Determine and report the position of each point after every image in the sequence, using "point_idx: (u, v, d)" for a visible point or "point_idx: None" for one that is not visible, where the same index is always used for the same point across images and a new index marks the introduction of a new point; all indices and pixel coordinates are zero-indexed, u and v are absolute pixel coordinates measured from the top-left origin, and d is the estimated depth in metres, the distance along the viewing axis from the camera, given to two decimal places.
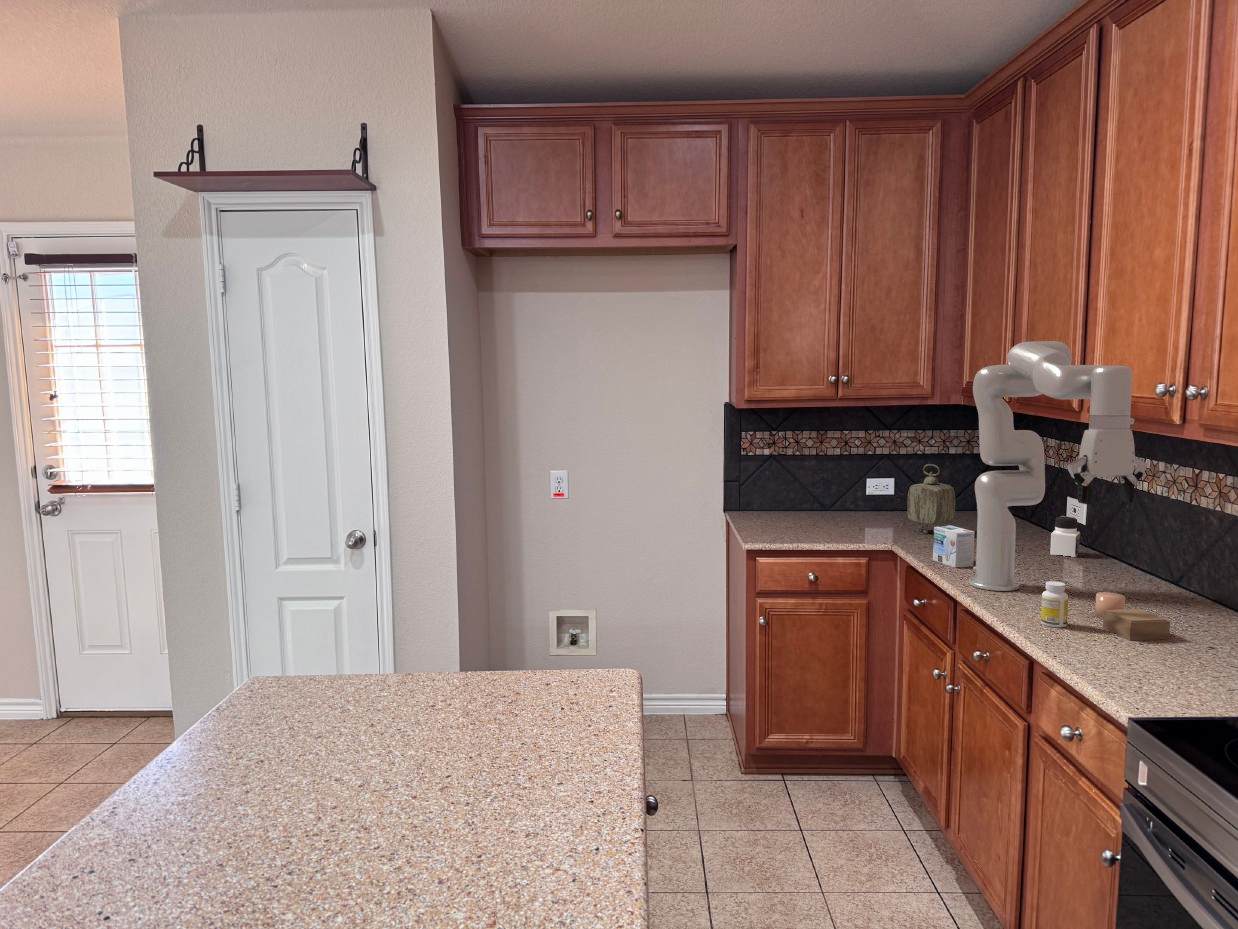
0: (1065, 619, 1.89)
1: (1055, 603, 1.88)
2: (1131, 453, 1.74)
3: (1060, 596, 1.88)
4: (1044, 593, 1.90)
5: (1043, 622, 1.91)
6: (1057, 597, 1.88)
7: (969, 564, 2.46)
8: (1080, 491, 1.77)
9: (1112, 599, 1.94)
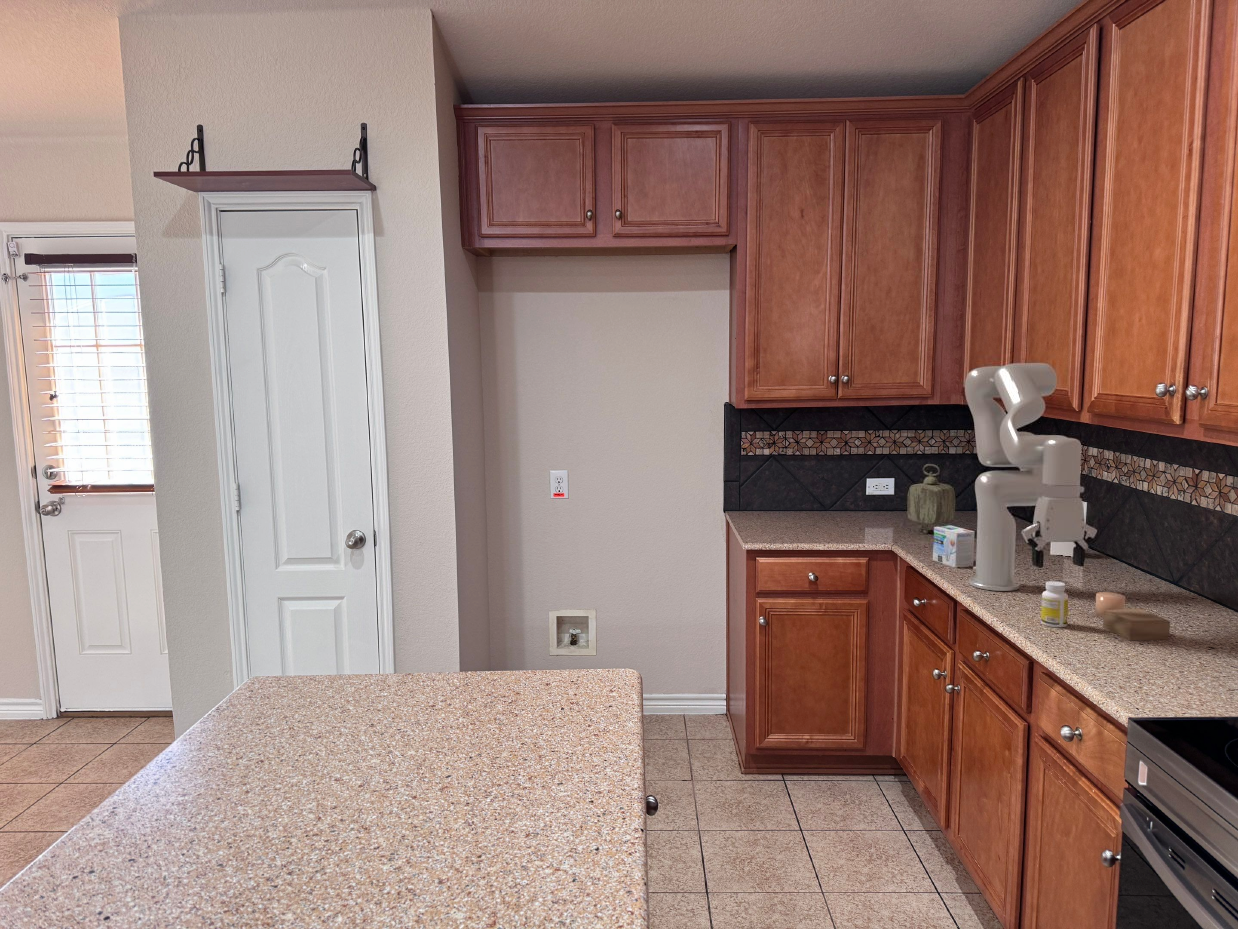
0: (1065, 619, 1.89)
1: (1055, 603, 1.88)
2: (1081, 520, 1.86)
3: (1060, 596, 1.88)
4: (1044, 593, 1.90)
5: (1043, 622, 1.91)
6: (1057, 597, 1.88)
7: (969, 564, 2.46)
8: (1034, 555, 1.88)
9: (1112, 599, 1.94)
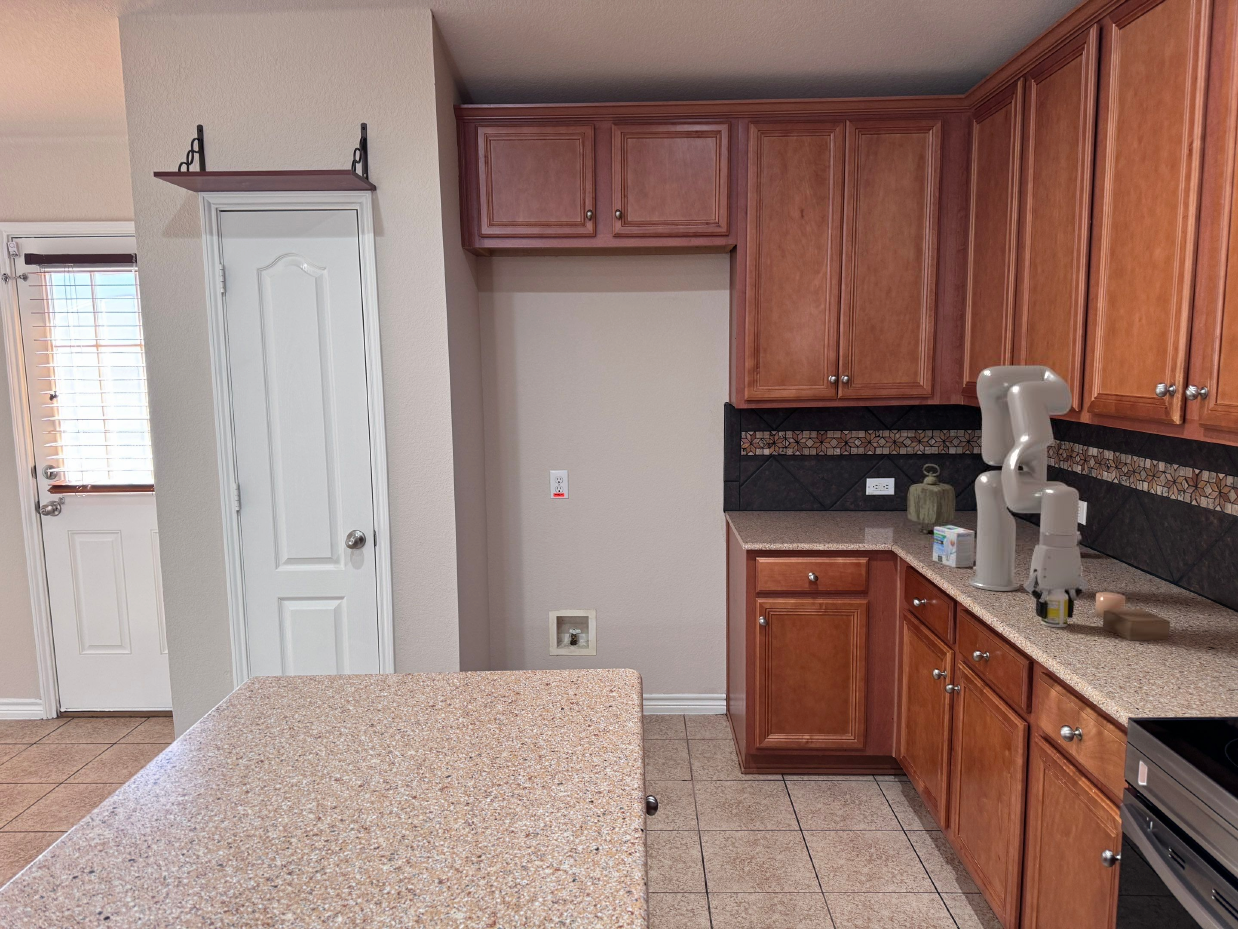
0: (1065, 619, 1.89)
1: (1055, 603, 1.88)
2: (1078, 568, 1.88)
3: (1061, 596, 1.88)
4: None
5: (1043, 622, 1.91)
6: (1057, 597, 1.88)
7: (969, 564, 2.46)
8: (1038, 606, 1.90)
9: (1112, 599, 1.94)
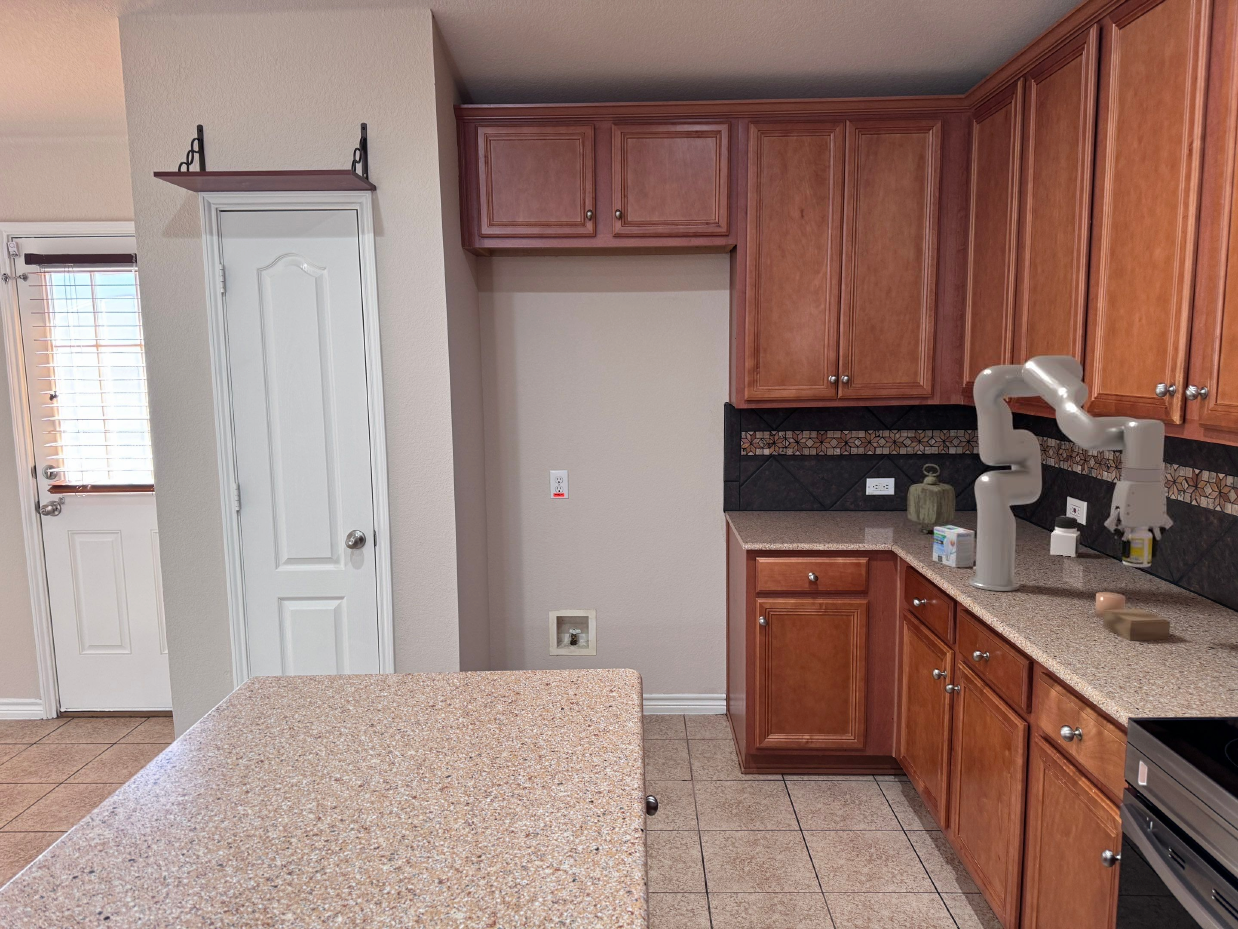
0: (1149, 558, 1.80)
1: (1139, 541, 1.79)
2: (1163, 505, 1.79)
3: (1145, 534, 1.79)
4: None
5: (1125, 562, 1.82)
6: (1141, 535, 1.79)
7: (969, 564, 2.46)
8: (1120, 545, 1.82)
9: (1112, 599, 1.94)
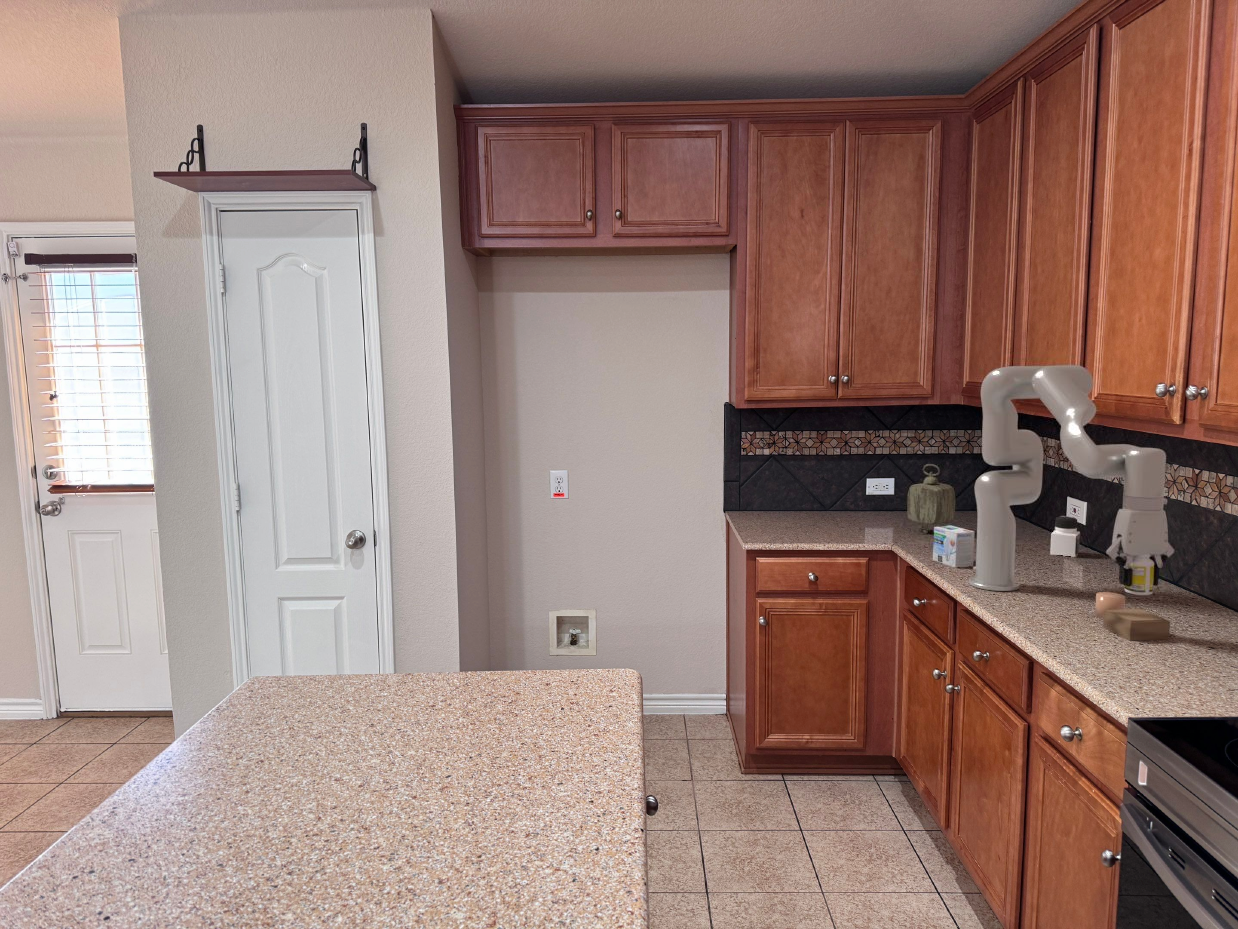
0: (1151, 586, 1.80)
1: (1141, 569, 1.80)
2: (1164, 533, 1.79)
3: (1147, 562, 1.80)
4: None
5: (1127, 590, 1.82)
6: (1143, 563, 1.80)
7: (969, 564, 2.46)
8: (1122, 573, 1.82)
9: (1112, 599, 1.94)
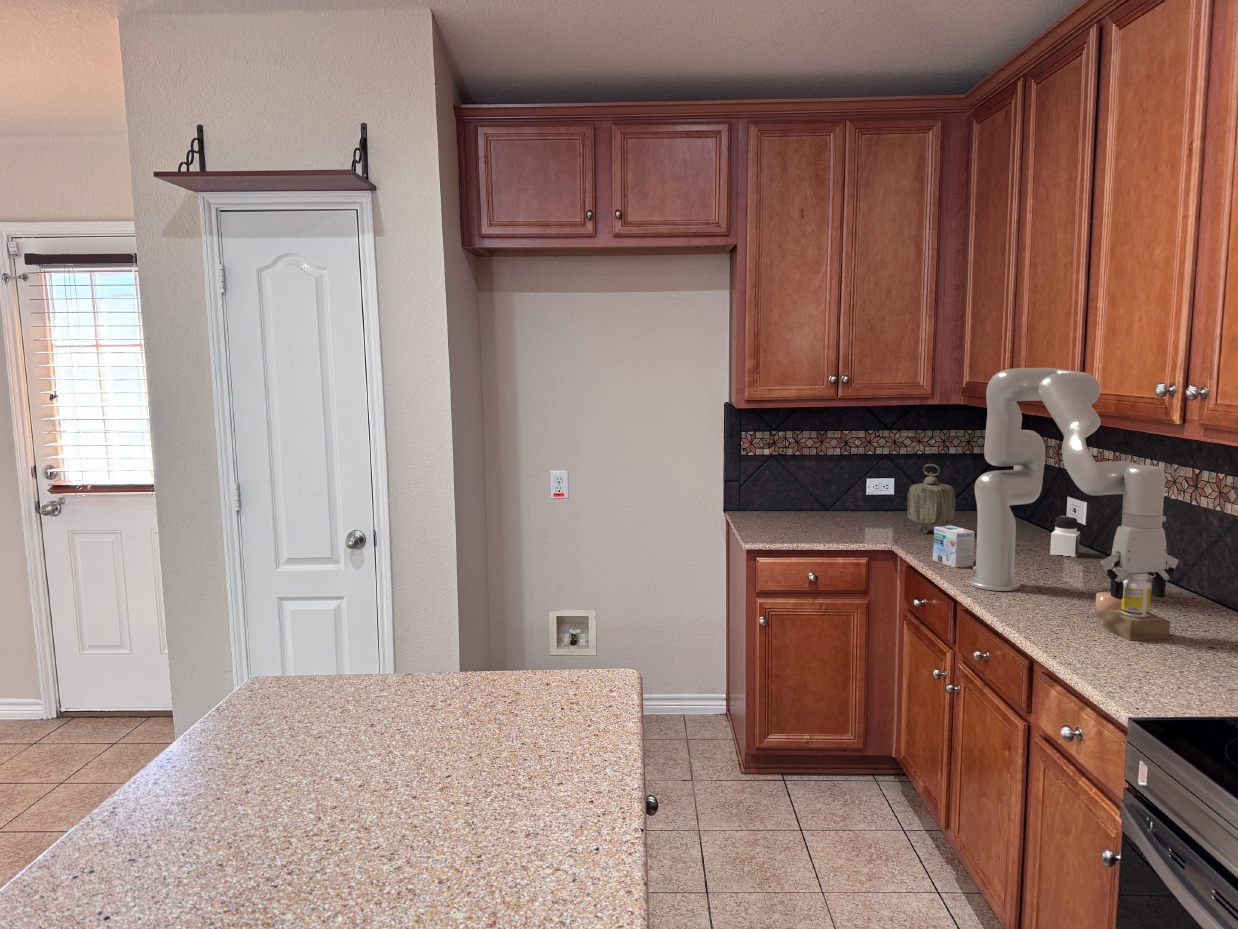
0: (1148, 609, 1.81)
1: (1138, 592, 1.81)
2: (1163, 551, 1.80)
3: (1144, 585, 1.80)
4: (1125, 582, 1.83)
5: (1124, 612, 1.83)
6: (1140, 586, 1.80)
7: (969, 564, 2.46)
8: (1113, 586, 1.82)
9: (1112, 599, 1.94)
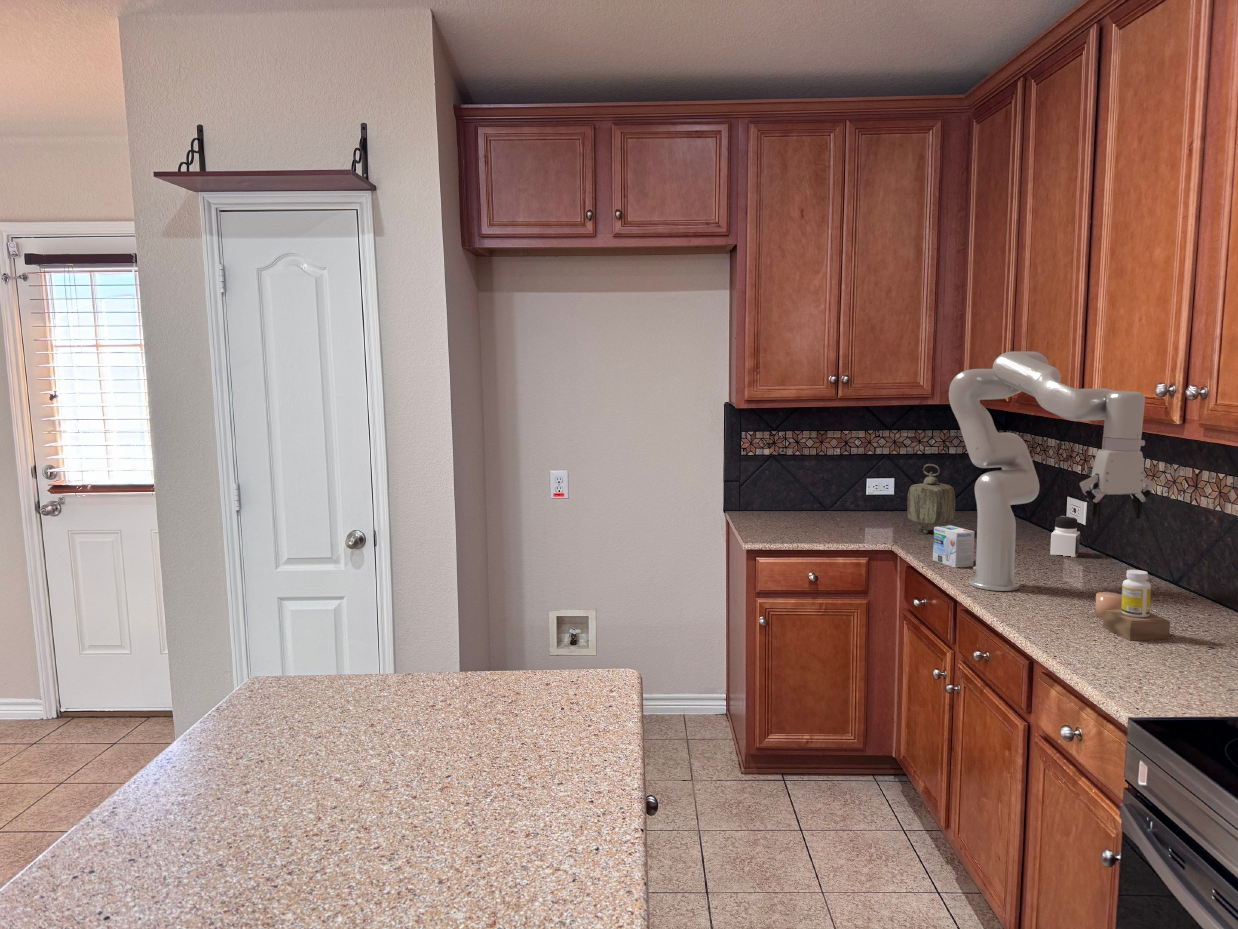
0: (1148, 609, 1.81)
1: (1138, 592, 1.81)
2: (1140, 473, 1.88)
3: (1143, 585, 1.80)
4: (1125, 582, 1.83)
5: (1124, 612, 1.83)
6: (1140, 586, 1.80)
7: (969, 564, 2.46)
8: (1091, 507, 1.90)
9: (1112, 599, 1.94)
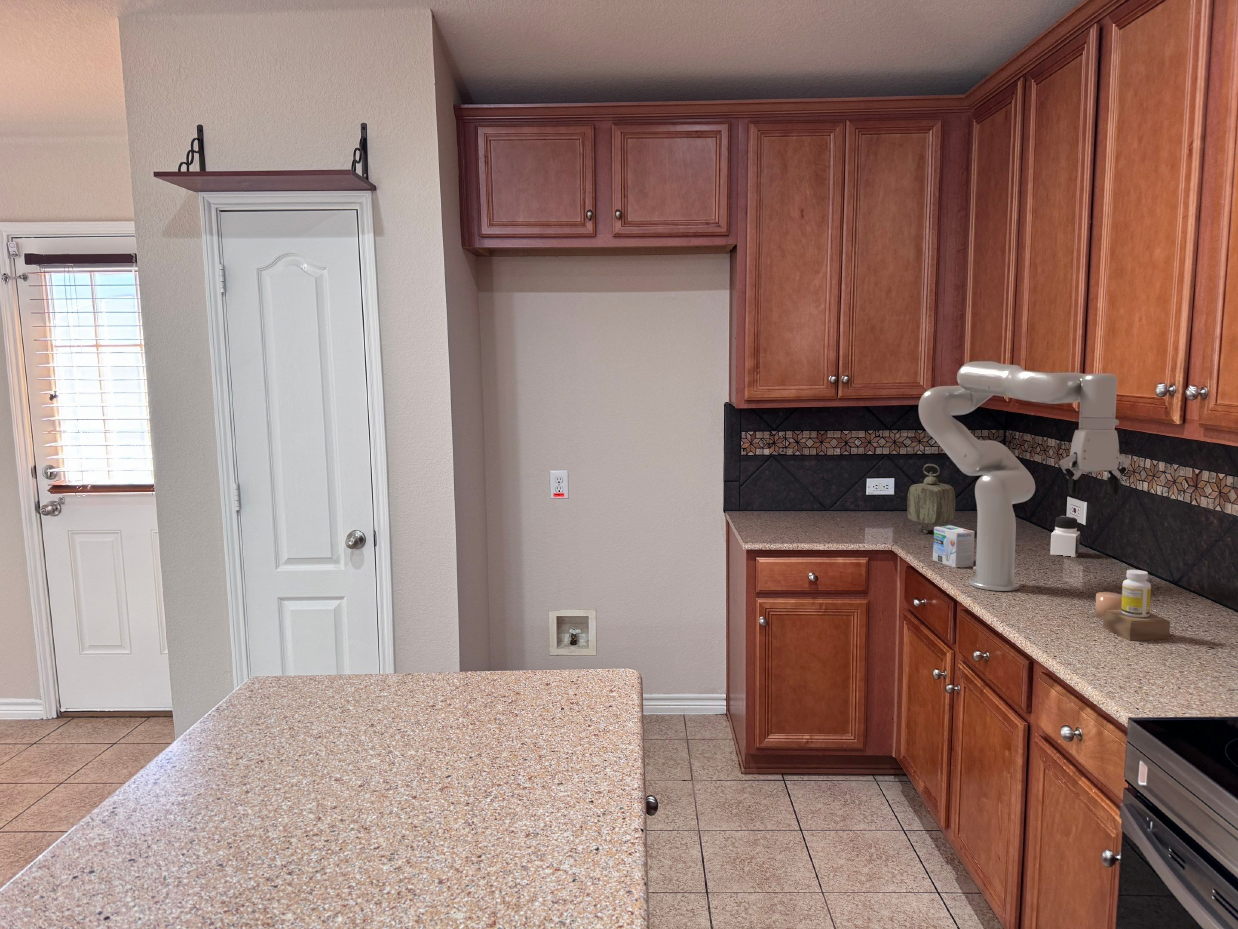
0: (1148, 609, 1.81)
1: (1138, 592, 1.81)
2: (1116, 451, 1.98)
3: (1144, 585, 1.80)
4: (1125, 582, 1.83)
5: (1124, 612, 1.83)
6: (1140, 586, 1.80)
7: (969, 564, 2.46)
8: (1071, 484, 2.00)
9: (1112, 599, 1.94)
